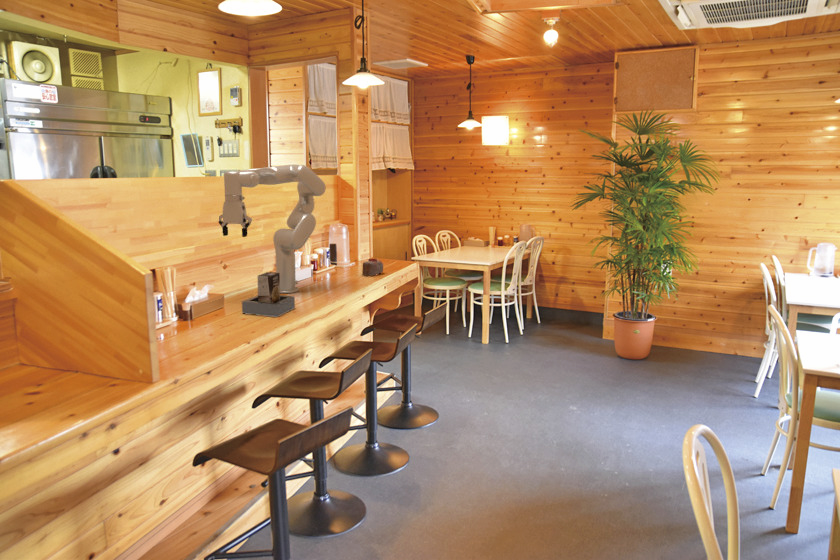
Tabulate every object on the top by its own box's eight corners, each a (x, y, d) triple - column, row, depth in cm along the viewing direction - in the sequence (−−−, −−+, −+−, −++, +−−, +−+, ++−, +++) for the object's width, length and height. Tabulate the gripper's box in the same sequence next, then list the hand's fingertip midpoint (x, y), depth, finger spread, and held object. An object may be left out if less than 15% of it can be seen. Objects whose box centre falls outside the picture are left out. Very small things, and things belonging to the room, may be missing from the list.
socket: (262, 305, 268) (261, 293, 266) (294, 308, 263) (294, 296, 262) (242, 313, 252) (241, 301, 251) (276, 317, 248) (276, 304, 247)
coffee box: (271, 313, 253) (270, 276, 250) (257, 311, 254) (256, 275, 251) (280, 308, 262) (280, 272, 258) (267, 306, 263) (266, 271, 260)
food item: (372, 272, 354) (372, 256, 352) (384, 273, 350) (384, 257, 348) (360, 276, 342) (360, 259, 340) (372, 277, 338) (372, 260, 336)
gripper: (255, 199, 269) (256, 236, 272) (221, 197, 273) (222, 234, 276) (246, 200, 262) (248, 238, 265) (211, 198, 266) (213, 236, 269)
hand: (235, 236), depth 271 cm, fingers open, 9 cm apart
